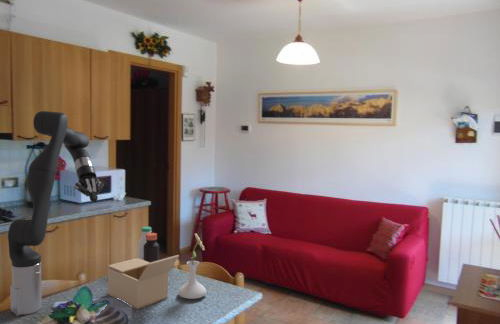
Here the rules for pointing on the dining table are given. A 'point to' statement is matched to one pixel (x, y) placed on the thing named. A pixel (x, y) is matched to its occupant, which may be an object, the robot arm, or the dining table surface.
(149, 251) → the vinegar
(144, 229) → the milk bottle
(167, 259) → the front flap
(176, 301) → the dining table surface
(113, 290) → the carton
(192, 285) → the flower in vase
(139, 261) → the back flap
